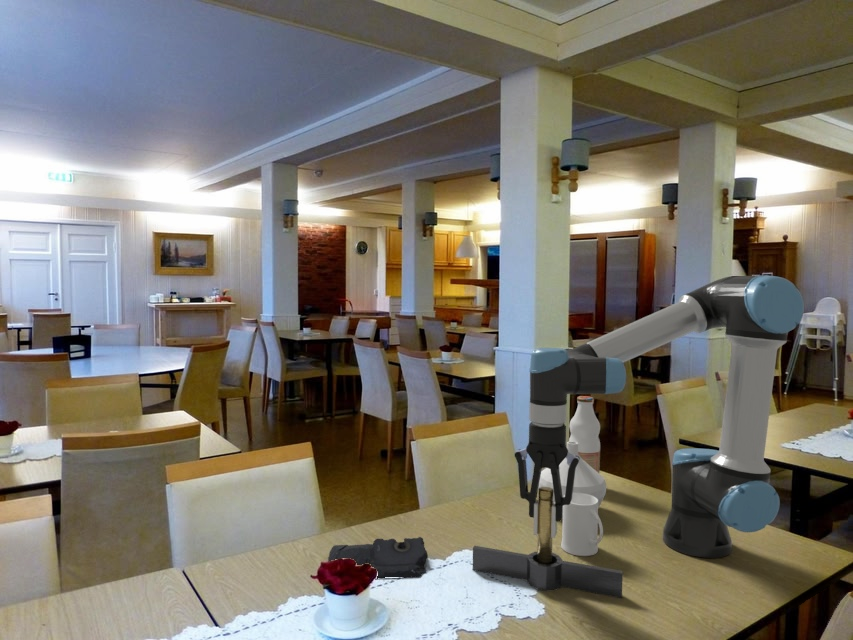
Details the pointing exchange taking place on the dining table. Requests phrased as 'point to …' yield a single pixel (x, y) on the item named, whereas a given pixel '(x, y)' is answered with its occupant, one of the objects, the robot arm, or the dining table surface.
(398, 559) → the dark slate chunk
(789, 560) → the dining table surface
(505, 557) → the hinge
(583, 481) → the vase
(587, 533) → the mug
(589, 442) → the fruit juice
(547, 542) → the pin
